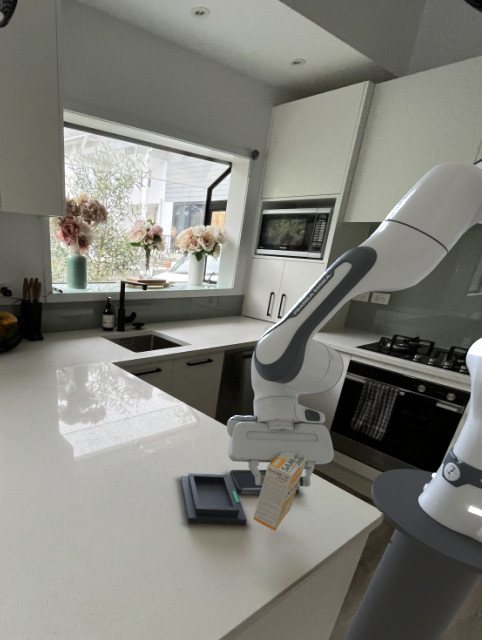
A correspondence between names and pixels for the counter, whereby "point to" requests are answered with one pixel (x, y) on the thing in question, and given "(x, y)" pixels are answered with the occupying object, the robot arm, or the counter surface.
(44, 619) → the counter surface
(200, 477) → the charging dock
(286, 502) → the supplement box
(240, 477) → the phone
